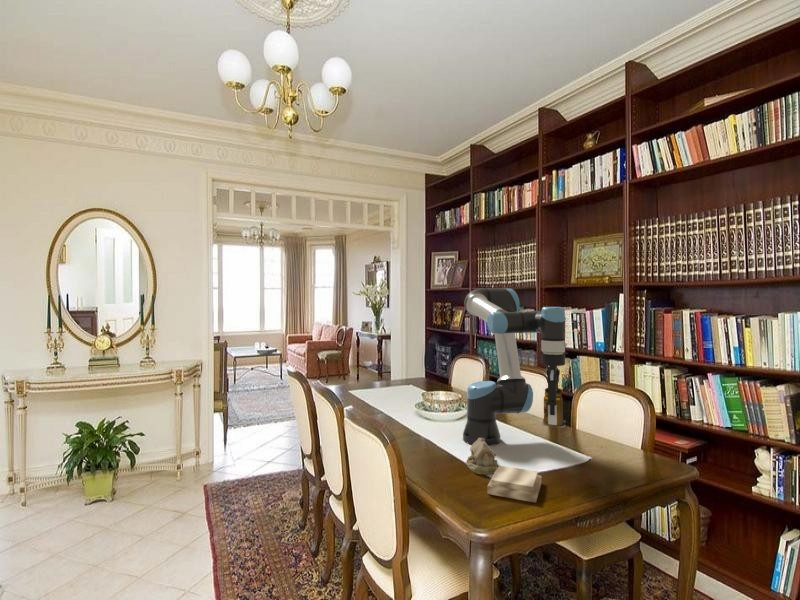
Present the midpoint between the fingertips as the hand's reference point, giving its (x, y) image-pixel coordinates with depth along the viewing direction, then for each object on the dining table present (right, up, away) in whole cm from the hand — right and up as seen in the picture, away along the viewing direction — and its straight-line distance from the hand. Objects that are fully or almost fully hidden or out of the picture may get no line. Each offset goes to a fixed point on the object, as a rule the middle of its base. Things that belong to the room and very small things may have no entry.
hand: (553, 421), depth 147 cm
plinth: (-16, -17, -12) cm, 27 cm away
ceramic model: (-23, -17, +5) cm, 29 cm away
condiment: (0, -1, +1) cm, 2 cm away
